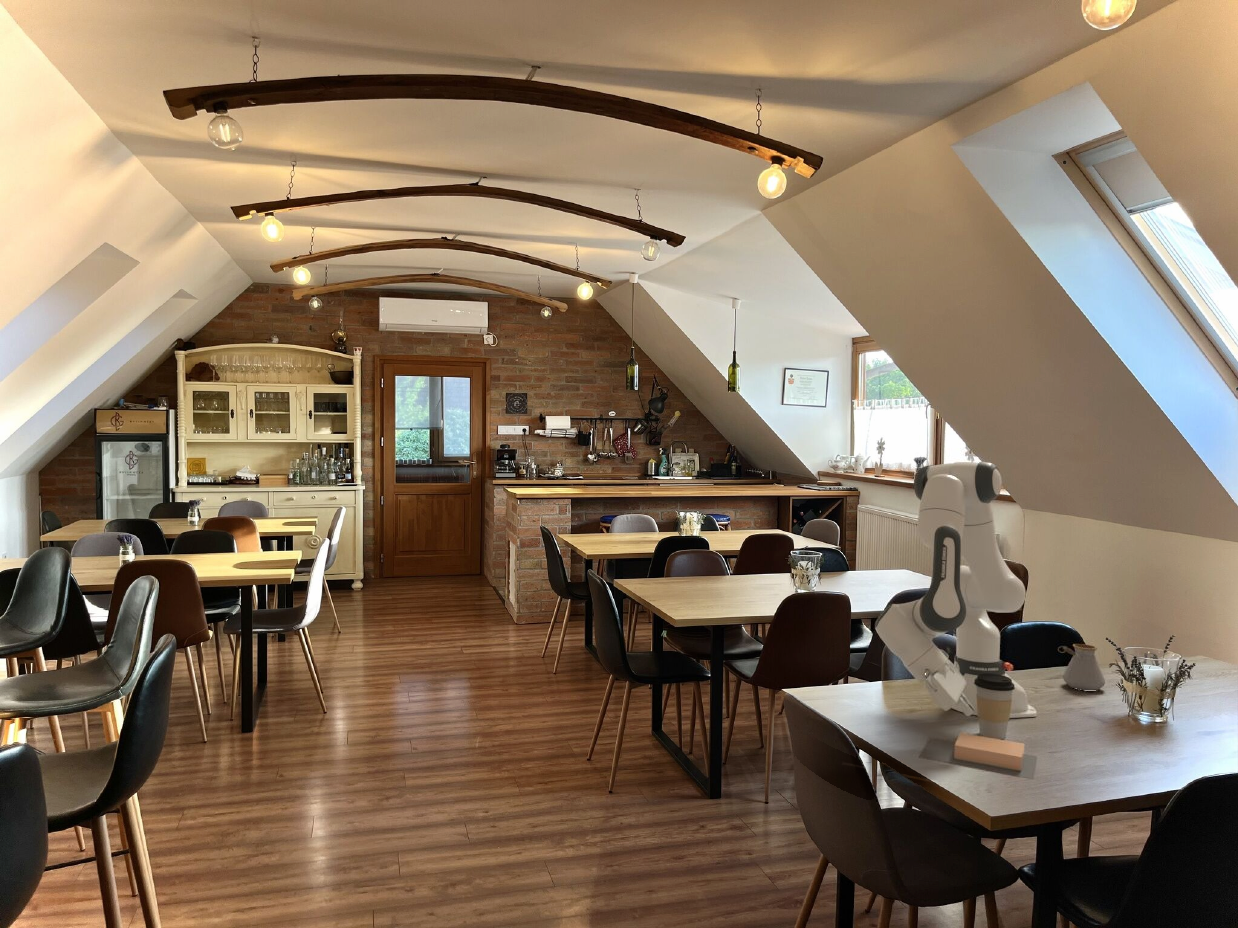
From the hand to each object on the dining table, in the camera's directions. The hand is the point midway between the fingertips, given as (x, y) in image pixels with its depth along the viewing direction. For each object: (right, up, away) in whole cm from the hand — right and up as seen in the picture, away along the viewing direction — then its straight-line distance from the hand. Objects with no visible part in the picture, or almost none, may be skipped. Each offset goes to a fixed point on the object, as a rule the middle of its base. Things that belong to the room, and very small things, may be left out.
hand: (971, 713), depth 201 cm
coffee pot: (+55, -10, +58) cm, 81 cm away
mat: (+1, -10, -1) cm, 11 cm away
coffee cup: (+11, -10, +15) cm, 21 cm away
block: (-3, -8, +2) cm, 9 cm away
